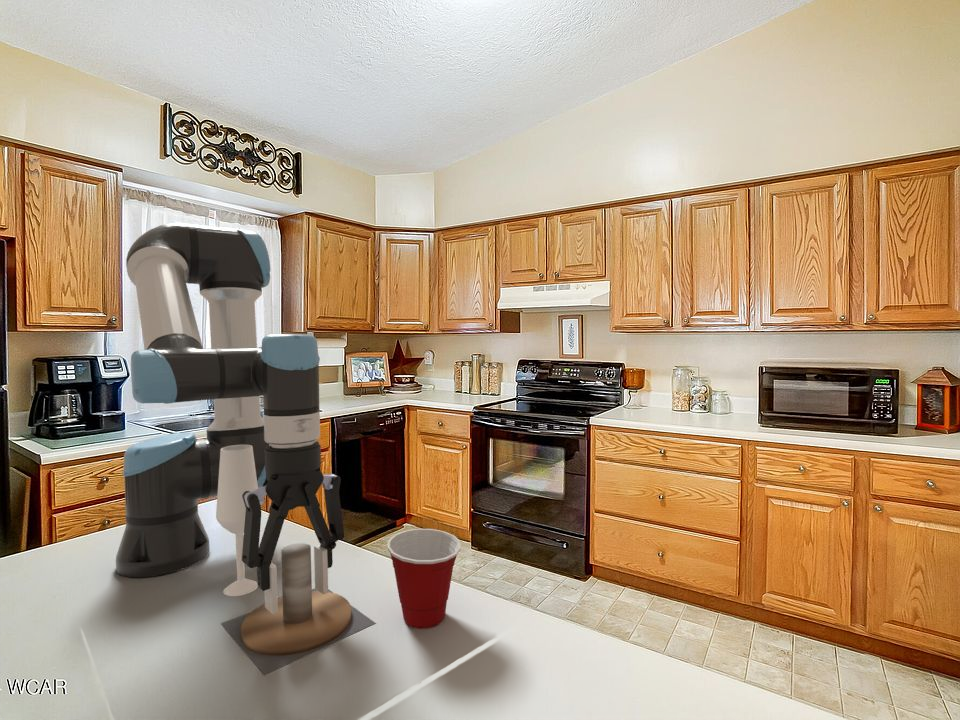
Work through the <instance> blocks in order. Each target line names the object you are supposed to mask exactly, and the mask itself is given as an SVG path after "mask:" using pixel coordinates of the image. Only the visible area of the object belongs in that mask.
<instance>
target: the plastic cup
mask: <svg viewBox="0 0 960 720" xmlns="http://www.w3.org/2000/svg"><path fill="white" fill-rule="evenodd" d="M386 548H387V551H388V552H389V555H390V556H391V562H392V567H393V569H394V570H393V571H394V577H395V581H396V587H397V593H398V597H399V603H400V605H401V612H402V616H403V617H402V618H403V620H404V622H405V623H406V625H407V626H409V627H411V628H413V629H419V630H421V629H430V628H433V627H437V626H438V625H440V624H441V623H442V622H443V620H444V619H445V617H446V610H447V605H448V604H447V603H448V600H449V594H450V589H451V582H452V577H453V571H454V566H455V563H456V560H457V557H458V555H459V553H460V551H461V549H462V544H461V540H460V539H459V538H457V536H455V535H454V534H452V533H449V532H447V531H445V530H444V531H443V530H439V529H435V528H415V529H414V528H413V529H407V530H404V531H401V532H399V533H398V532H397V533H396V534H393V536H392V537H391V538H389V539H388V540H387V545H386Z"/></svg>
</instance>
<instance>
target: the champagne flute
mask: <svg viewBox="0 0 960 720" xmlns="http://www.w3.org/2000/svg"><path fill="white" fill-rule="evenodd" d="M257 489H258V484H257V477H256V469H255V462H254V454H253V447H252V445H232V446H227V447H223V448H221V450H220V465H219V480H218V494H217V496H216V511H215V519H216V521H217V523H218V524H220V526H221V527H222V528H223V529H225V530H226V531H228V532H229V533H231V534H233V535H235V554H236V556H235V557H236V560H235V561H236V580H235V581H233V582H231V583H230V584H229V585H227V586H226V587H225V588H224V589H223V594H224V595H226V596H228V597H239V596H244V595H248V594H250V593H252V592H254V591H256V590H257V589H259V587H258V585H257V580H252V579H249V578H246V576H245V575H246V571H245V570H246V569H245V563H244V562H243V561H242V550H243V537H244V525H245V513H246V507H245V504H244V501H243V497H242V495H243V493H244V492H245V491H250V492H252V491H255V490H257Z"/></svg>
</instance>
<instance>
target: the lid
mask: <svg viewBox="0 0 960 720" xmlns="http://www.w3.org/2000/svg"><path fill="white" fill-rule="evenodd" d="M311 550H312V549H311V545H310V544H308V543H303V542H299V543H292V544H288V545H286V546H284V547H283V548H281V550H280V551H281V552H280V553H281V554H280V555H281V559H280V560H281V586H282V587H281V589H282V590H281V591H282V593H281V594H282V596H278V612H277V613H275V614H272V613H271V612H270V611H269V610H268V609H266V608H265V602H264V603H263V604H261V605H259V606H257V607H256V608H254V609H253V610H252V611H251V613H250V612H249V613H250V614H249V615H248V616H247V617H246V618H245V619H244V621H243V623H242V626H241V640H242V643H243V644H244V646H246V647H247V648H248V649H250V650H251V651H253V652H256V653H259V654H264V655H275V656H278V655H291V654H297V653H301V652H305V651H309V650H312V649H315V648H317V647H320V646H322V645H324V644H326V643H328V642H330V641H332V640H333V639H335V638H336V637H338V636H339V635H340V634H341V633H342V632H343V631H344V630H345V629H346V628H347V627H348V625H349V623H350V621H351V606H352V604H351V603H350V602H349V600H348V599H347V598H346V597H344V596H342V595H340V594H338V593H335V592H333V593H331V592H328V593H326V594H324V595H323V594H322V593H321V592H319V591H312V589H313V587H312V584H313V583H312V582H313V581H312V551H311Z"/></svg>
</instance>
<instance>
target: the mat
mask: <svg viewBox="0 0 960 720" xmlns="http://www.w3.org/2000/svg"><path fill="white" fill-rule="evenodd" d="M312 591H318V590H317V589H315V588H312ZM328 592H331V593H334V592H333V591H332V590H331V589H329V588H328ZM251 612H252V611H251ZM251 612H248V613H245V614H243V615H239V616H237V617H235V618H232V619H229V620H227V621H224V622H221V623H220V625H221V626H222V627H223V628H224V630H225V631H226V632H227V634H229V635H230V637H231V638H232V639H233V641H234V642H235V643H236V644H237V645H238V647H240V649H241V650H242V651H243V652H244V654H246V655H247V657H248V658H249V659H250V661H251V663H253V664H254V666H256V668H257V669H258V670H259V671H260V672H261V674H262V675H263V676H266V675H268V674H270V673H273V672H274V671H276V670H278V669H280V668H283V667H286V666H287V665H289V664H291V663H294V662H296V661H299V660H300V659H302V658H304V657H307V656H309V655H312V654H313V653H316V652H318V651H320V650H321V649H324V648H326V647H328V646H330V645H333V644H334V643H336V642H339V641H341V640H343V639H345V638H348V637H350V636H352V635H354V634H356V633H358V632H360V631H363V630H366V628H369V627H371V626H373V625H375V624H377V623H376V622H375V621H373V620H372V618H370V617H368V616H367V615H365V614H364V613H362V612H361V611H360V610H358V609H356V608H355V607H354V606H353V605H351V621H350V623H349V625H348V627H347V628H346V629H345V630H344V631H343V632H342V633H341V634H340V635H339V636H338V637H336V638H335V639H333V640H332V641H330V642H328V643H326V644H324V645H322V646H320V647H317V648H315V649H312V650H309V651H305V652H301V653H297V654H291V655H278V656H275V655H264V654H259V653H256V652H253V651H251V650H250V649H248V648H247V647H246V646H244V644H243V643H242V640H241V626H242V623H243V621H244V619H245V618H246V617H247V616H248V615H249V614H250V613H251Z"/></svg>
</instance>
